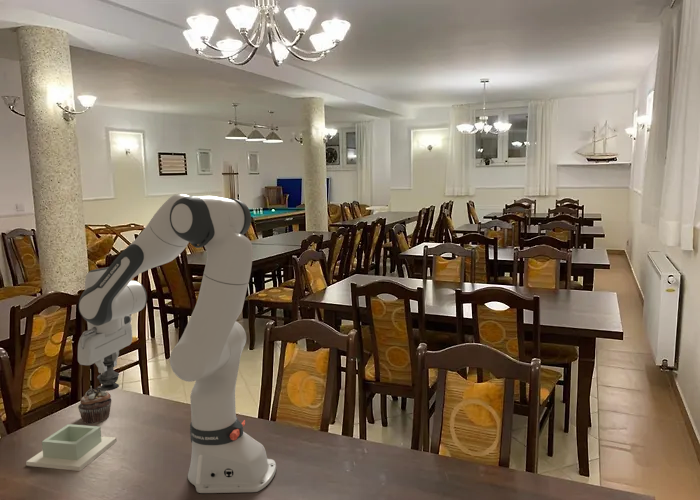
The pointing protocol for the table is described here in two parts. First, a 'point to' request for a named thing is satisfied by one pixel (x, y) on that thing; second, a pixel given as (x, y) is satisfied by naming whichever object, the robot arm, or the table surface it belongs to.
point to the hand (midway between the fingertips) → (107, 369)
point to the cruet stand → (71, 448)
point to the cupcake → (95, 406)
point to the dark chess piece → (108, 376)
